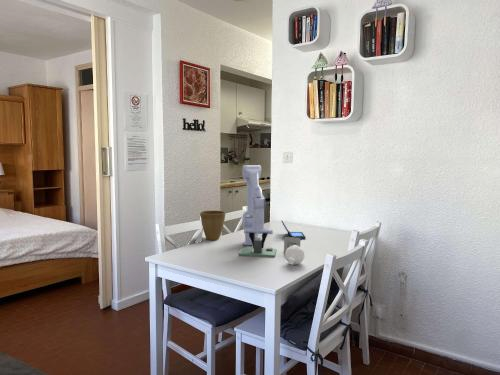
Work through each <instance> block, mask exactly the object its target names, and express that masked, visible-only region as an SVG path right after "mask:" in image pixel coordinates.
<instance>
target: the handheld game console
mask: <svg viewBox="0 0 500 375" xmlns="http://www.w3.org/2000/svg"><path fill="white" fill-rule="evenodd" d="M280 222H281V223H282V225H283V227H284V229H285V231H286V232H287V236H288V237H291V238H300V239H301V240H306V238H307V237H306V236H305V234H304V232H302V231H290V230H288V227H287V226H286V224H285V223H284V221H283V219H282V220H280Z"/></svg>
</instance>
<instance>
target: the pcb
mask: <svg viewBox="0 0 500 375" xmlns="http://www.w3.org/2000/svg"><path fill="white" fill-rule="evenodd" d="M276 254H277V248H273V247H266V248H265V247H264V248H263V250H262V253H257V252H254V248H253V247H242V248H241V250H240V251H239V253H238V256H240V257H241V256H243V257H261V258H262V257H263V258H264V257H266V258H276Z"/></svg>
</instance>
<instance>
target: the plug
mask: <svg viewBox="0 0 500 375" xmlns="http://www.w3.org/2000/svg"><path fill="white" fill-rule="evenodd" d="M262 250H263V248H262V237H258V238H255V239H254V252H257V253H262Z"/></svg>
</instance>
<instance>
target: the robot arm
mask: <svg viewBox="0 0 500 375" xmlns="http://www.w3.org/2000/svg"><path fill="white" fill-rule="evenodd" d="M261 176H262V166H261V165H260V164H258V165H256V164H255V165H254V164H253V165H251V164H250V165H249V164H248V165H246V164H243V166H242V180H243V181H245V183H246V201H247V202H246V203H247V204H246V205H247V206H246V207H247V208H246V211H245V212H244V213H243V214H242V221H241V223H242V227H243V228H244V229H243V234H244V242H243V245H244V246H252V248H254V239H255V238H259V234H261V238H262V248H265V247H264V246H265V242H266V239H267V237H268V235H273V234H274V232H273V229H267V228H266V229H265V209H266V202H267V201H266V197H265V196H264V195H263V190H262V187H261V186H260V184H259V180H260V178H261Z"/></svg>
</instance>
